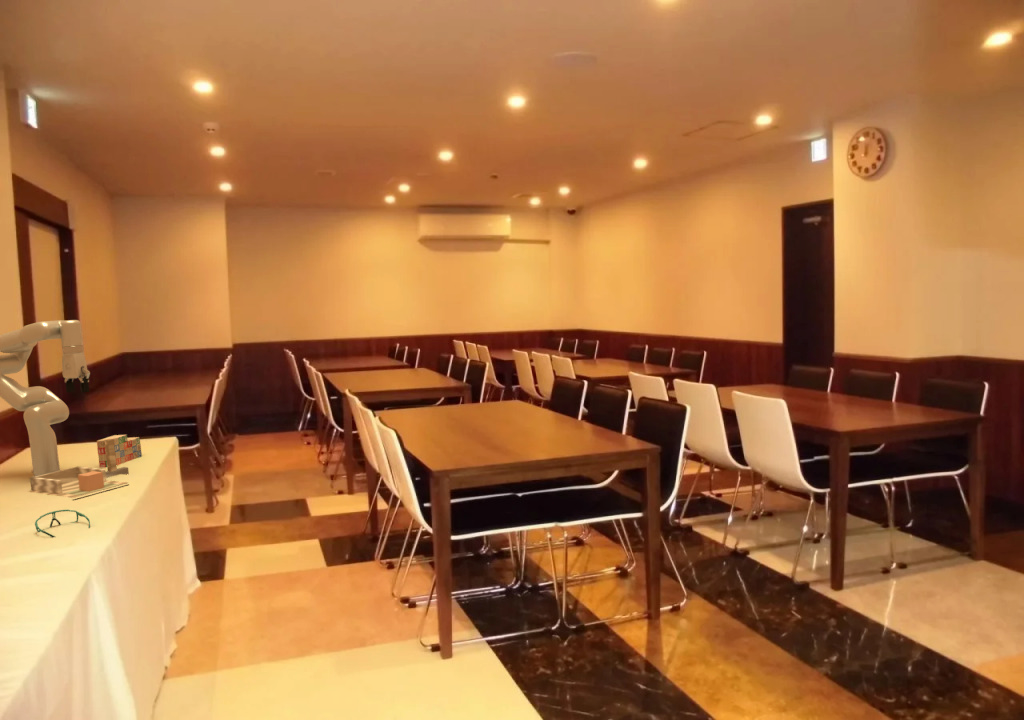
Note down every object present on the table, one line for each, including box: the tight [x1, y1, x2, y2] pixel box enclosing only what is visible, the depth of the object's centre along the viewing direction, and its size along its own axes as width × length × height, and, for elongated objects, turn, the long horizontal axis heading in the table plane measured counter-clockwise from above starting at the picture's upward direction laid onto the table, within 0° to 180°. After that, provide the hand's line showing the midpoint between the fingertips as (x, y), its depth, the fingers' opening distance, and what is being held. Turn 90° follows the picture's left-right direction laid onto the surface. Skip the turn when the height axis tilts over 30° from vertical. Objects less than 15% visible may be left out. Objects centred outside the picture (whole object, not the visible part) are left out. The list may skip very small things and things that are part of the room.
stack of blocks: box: [96, 434, 143, 468], centre depth 343 cm, size 21×6×12 cm, turn 172°
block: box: [78, 471, 104, 491], centre depth 289 cm, size 6×6×6 cm
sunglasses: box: [34, 509, 91, 538], centre depth 241 cm, size 14×15×5 cm
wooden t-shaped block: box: [105, 439, 129, 479], centre depth 311 cm, size 3×12×16 cm, turn 152°
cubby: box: [27, 466, 130, 501], centre depth 293 cm, size 30×22×6 cm
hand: (78, 391), depth 309 cm, fingers open, 9 cm apart
